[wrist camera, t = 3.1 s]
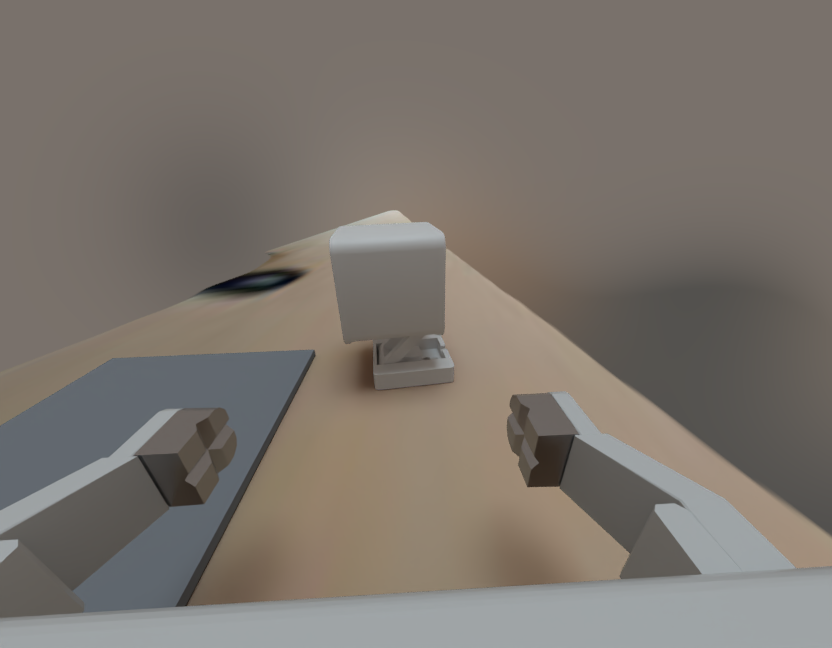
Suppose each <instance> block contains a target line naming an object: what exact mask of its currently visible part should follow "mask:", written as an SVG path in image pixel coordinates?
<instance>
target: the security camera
mask: <svg viewBox="0 0 832 648" xmlns="http://www.w3.org/2000/svg"><path fill="white" fill-rule="evenodd" d="M329 248H330V256H331V263H332V269H333V276H334V282H335V288H336V295H337V301H338V307H339V314H340V320H341V327H342V333H343V339H344V342H345V344H350V343H352V342H355V341H365V340H373V376H374V385H375V389H376V390H384V389H394V388H403V387H412V386H421V385H430V384H439V383H449V382H453V381H454V363H453V361H452V359H451V357H450V355H449V352H448V350H447V349H445V344H444V341H443V339H442V337H441V335H443V334H444V329H445V260H446V244H445V237H444V234H443V232H442V231H440V230H439V229H437V228H436V227H434V226H432V225H431V224H430V223H428V222H417V223H397V224H376V225H355V226H340V227H338V229H337V230H336V231H335V233H334V234H333V235H332V236H331V238H330V240H329Z"/></svg>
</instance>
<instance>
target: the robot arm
mask: <svg viewBox="0 0 832 648" xmlns="http://www.w3.org/2000/svg"><path fill="white" fill-rule="evenodd" d="M510 408H511V410H512V412H513V413H512V414H511V415H510V416H509V417H508V420H507V436H508V440H509V444H510V446H511V449H512V451H513V452H514V453H515V454H517V455H518V456H519V463H518V466H519V468H520V471H521V473H522V475H523V478H524V480H525V483H526V485H527V487H558V486H560V489H561V490H562V491H563V492H564V493H565V494H566V495H568V496H569V497H570V498H571V499H572V500H573V501H574V502H575V503H576V504H577V505H578V506H579V507H581V508H582V509H583V510H584V511H585V512H586V513H587V514H588V515H589V516H590V517H591V518H592V519H593V520H595V521H596V522H597V523H598V524H599V525H600V526H601V527H602V528H603V529H604V530H605V531H606V532H608V533H609V534H610V535H611V536H612V537H613V538H614V539H615V540H616V541H617V542H618V543H619V544H620V545H622V546H623V547H624V548H625V549H626V550H627V551H628V552H629V553H630V555H629V557H628V559H627V561H626V563H625V565H624V567H623V568H622V571H621V574H620V578H621V579H617V580H601V581H584V582H568V583H552V584H536V585H520V586H504V587H488V588H471V589H455V590H439V591H423V592H407V593H391V594H374V595H358V596H342V597H326V598H310V599H294V600H278V601H262V602H246V603H230V604H215V605H199V606H183V607H167V608H151V609H135V610H120V611H104V612H88V613H82V612H83V611H84V602H83V601H82V600H81V599H80V598H79V597H78V596H77V595H76V594H75V593H74V592H73V590H74V589H75V588H77V587H78V586H79V585H80V584H81V583H83V582H84V581H85V580H86V579H87V578H88V577H90V576H91V575H92V574H93V573H94V572H96V571H97V570H98V569H99V568H100V567H101V566H103V565H104V564H105V563H106V562H107V561H109V560H110V559H111V558H112V557H113V556H114V555H116V554H117V553H118V552H119V551H120V550H122V549H123V548H124V547H125V546H126V545H128V544H129V543H130V542H131V541H132V540H133V539H135V538H136V537H137V536H138V535H139V534H141V533H142V532H143V531H144V530H145V529H146V528H148V527H149V526H150V525H151V524H152V523H154V522H155V521H156V520H157V519H158V518H159V517H161V516H162V515H163V514H164V513H165V512H167V511H168V510H169V509H170V508H169V507H177V506H189V505H201V504H205V502H206V501H207V499H208V498H209V496H210V494H211V493H212V491H213V490H214V488H215V486H216V485H217V483H218V482H219V475H218V473H219V472H220V471H222V470H223V469H224V468H226V467H227V466H228V465H229V464H230V462H231V460H232V459H233V457H234V455H235V451H236V447H237V437H236V434H235V432H234V430H233V429H232V428H230V427H229V426H228V425H226V424H227V422H228V420H229V416H228V414H227V412H226V410H225V409H223V408H220V407H219V408H184V409H165V410H162V411H159V412H158V413H157V414H156V415H154V416H153V417H152V418H151V419H150V420H149V421H148V422H147V423H146V424H145V425H144V426H142V427H141V428H140V429H139V430H138V431H137V432H136V433H135V434H134V435H133V436H132V437H130V438H129V439H128V440H127V441H126V442H125V443H124V444H123V445H122V446H121V447H120V448H118V449H117V450H116V451H115V452H114V453H113V454H112V455H111V456H110V457H109V458H101V459H99V460H97V461H95V462H93V463H91V464H89V465H87V466H85V467H84V468H82V469H80V470H78V471H76V472H74V473H72V474H70V475H68V476H66V477H64V478H62V479H60V480H58V481H56V482H55V483H53V484H51V485H49V486H47V487H45V488H43V489H41V490H39V491H37V492H35V493H33V494H31V495H29V496H27V497H26V498H24V499H22V500H20V501H18V502H16V503H14V504H12V505H10V506H8V507H6V508H4V509H2V510H0V648H832V566H827V567H811V568H796V567H795V566H794V565H793V564H792V563H790V562H789V561H788V560H787V559H786V558H785V557H784V556H783V555H782V554H781V553H780V552H779V551H778V550H777V549H776V548H775V547H774V546H773V545H772V544H771V543H770V542H769V541H768V540H767V539H766V538H765V537H764V536H763V535H762V534H761V533H760V532H759V531H758V530H757V529H756V528H755V527H754V526H753V525H751V524H750V523H749V522H748V521H747V520H746V519H745V518H744V517H743V516H742V515H741V514H740V513H739V512H738V511H737V510H736V509H735V508H734V507H733V506H732V505H731V504H730V503H729V502H728V501H727V500H726V499H724V498H722V497H721V496H719V495H717V494H715V493H713V492H712V491H710V490H708V489H706V488H704V487H703V486H701V485H699V484H697V483H695V482H694V481H692V480H690V479H688V478H686V477H685V476H683V475H681V474H679V473H677V472H676V471H674V470H672V469H670V468H668V467H667V466H665V465H663V464H661V463H659V462H657V461H656V460H654V459H652V458H650V457H648V456H647V455H645V454H643V453H641V452H639V451H638V450H636V449H634V448H632V447H630V446H629V445H627V444H625V443H623V442H621V441H620V440H618V439H616V438H614V437H612V436H611V435H609V434H601V433H600V431H599V430H598V429H597V428H596V426H595V425H594V424H593V423H592V421H591V420H590V419H589V418H588V417H587V415H586V414H585V413H584V412H583V410H582V409H581V408H580V407H579V405H578V404H577V403H576V402H575V400H574V399H573V398H572V397H571V396H570V394H569V393H567V392H565V391H564V392H548V393H537V394H517V395H512V397H511V400H510Z"/></svg>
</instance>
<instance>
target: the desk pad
mask: <svg viewBox="0 0 832 648" xmlns="http://www.w3.org/2000/svg"><path fill="white" fill-rule="evenodd" d="M314 357H315V351H314V350H295V351H272V352H249V353H226V354H202V355H179V356H156V357H133V358H112V359H111V360H109V361H107V362H106V363H104V364H102V365H101V366H99V367H97V368H96V369H94V370H92V371H91V372H89V373H87V374H86V375H84V376H82V377H81V378H79V379H77V380H76V381H74V382H72V383H71V384H69V385H67V386H66V387H64V388H62V389H61V390H59V391H57V392H56V393H54V394H52V395H51V396H49V397H47V398H46V399H44V400H42V401H41V402H39V403H37V404H36V405H34V406H32V407H31V408H29V409H27V410H26V411H24V412H22V413H21V414H19V415H17V416H16V417H14V418H12V419H11V420H9V421H7V422H6V423H4V424H2V425H1V426H0V510H2V509H4V508H6V507H8V506H10V505H12V504H14V503H16V502H18V501H20V500H22V499H24V498H26V497H27V496H29V495H31V494H33V493H35V492H37V491H39V490H41V489H43V488H45V487H47V486H49V485H51V484H53V483H55V482H56V481H58V480H60V479H62V478H64V477H66V476H68V475H70V474H72V473H74V472H76V471H78V470H80V469H82V468H84V467H85V466H87V465H89V464H91V463H93V462H95V461H97V460H99V459H101V458H109V457H110V456H111V455H112V454H113V453H114V452H115V451H116V450H117V449H118V448H120V447H121V446H122V445H123V444H124V443H125V442H126V441H127V440H128V439H129V438H130V437H132V436H133V435H134V434H135V433H136V432H137V431H138V430H139V429H140V428H141V427H142V426H144V425H145V424H146V423H147V422H148V421H149V420H150V419H151V418H152V417H153V416H154V415H156V414H157V413H158V412H159V411H162V410H165V409H184V408H219V407H220V408H223V409H225V410H226V412H227V414H228V416H229V420H228V422H227V424H226V425H228V426H229V427H230V428H232V429H233V430H234V432H235V434H236V437H237V447H236V451H235V455H234V457H233V459H232V460H231V462H230V464H229V465H228V466H227V467H226V468H224V469H223V470H222V471H220V472H219V473H218V475H219V482H218V483H217V485H216V486H215V488H214V490H213V491H212V493H211V494H210V496H209V498H208V499H207V501H206V502H205V504H201V505H189V506H177V507H169V508H170V509H169V510H168V511H167V512H165V513H164V514H163V515H162V516H161V517H159V518H158V519H157V520H156V521H155V522H154V523H152V524H151V525H150V526H149V527H148V528H146V529H145V530H144V531H143V532H142V533H141V534H139V535H138V536H137V537H136V538H135V539H133V540H132V541H131V542H130V543H129V544H128V545H126V546H125V547H124V548H123V549H122V550H120V551H119V552H118V553H117V554H116V555H114V556H113V557H112V558H111V559H110V560H109V561H107V562H106V563H105V564H104V565H103V566H101V567H100V568H99V569H98V570H97V571H96V572H94V573H93V574H92V575H91V576H90V577H88V578H87V579H86V580H85V581H84V582H83V583H81V584H80V585H79V586H78V587H77V588H75V589H74V590H73V592H74V593H75V594H76V595H77V596H78V597H79V598H80V599H81V600H82V601H83V602H84V611H83V612H82V613H88V612H104V611H120V610H135V609H151V608H167V607H183V606H186V604H187V602H188V600H189V598H190V596H191V594H192V593H193V591H194V589H195V587H196V585H197V583H198V581H199V579H200V577H201V575H202V573H203V571H204V569H205V567H206V565H207V564H208V562H209V560H210V558H211V556H212V554H213V552H214V550H215V548H216V546H217V544H218V542H219V540H220V538H221V536H222V535H223V533H224V531H225V529H226V527H227V525H228V523H229V521H230V519H231V517H232V515H233V513H234V511H235V509H236V507H237V505H238V504H239V502H240V500H241V498H242V496H243V494H244V492H245V490H246V488H247V486H248V484H249V482H250V480H251V478H252V476H253V475H254V473H255V471H256V469H257V467H258V465H259V463H260V461H261V459H262V457H263V455H264V453H265V451H266V449H267V447H268V446H269V444H270V442H271V440H272V438H273V436H274V434H275V432H276V430H277V428H278V426H279V424H280V422H281V420H282V418H283V417H284V415H285V413H286V411H287V409H288V407H289V405H290V403H291V401H292V399H293V397H294V395H295V393H296V391H297V389H298V388H299V386H300V384H301V382H302V380H303V378H304V376H305V374H306V372H307V370H308V368H309V366H310V364H311V362H312V360H313V358H314Z"/></svg>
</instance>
